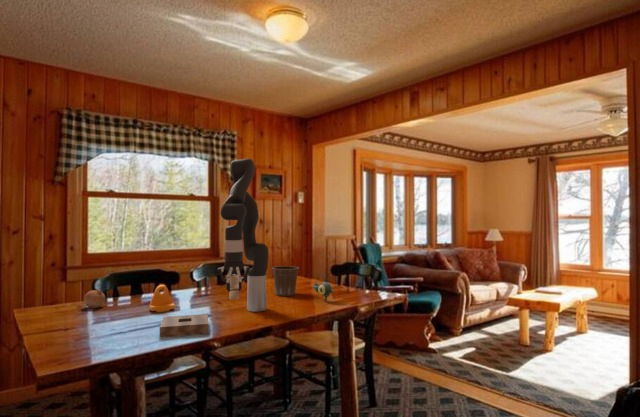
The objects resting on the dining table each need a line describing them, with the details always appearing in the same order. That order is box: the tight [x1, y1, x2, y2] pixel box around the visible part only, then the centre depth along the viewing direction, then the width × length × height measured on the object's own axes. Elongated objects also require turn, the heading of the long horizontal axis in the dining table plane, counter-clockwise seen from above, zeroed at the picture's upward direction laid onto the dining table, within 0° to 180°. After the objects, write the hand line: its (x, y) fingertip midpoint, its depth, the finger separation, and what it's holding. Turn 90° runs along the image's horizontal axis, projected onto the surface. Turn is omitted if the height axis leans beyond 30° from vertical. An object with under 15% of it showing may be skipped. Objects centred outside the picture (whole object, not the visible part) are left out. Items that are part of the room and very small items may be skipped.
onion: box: [83, 289, 106, 309], centre depth 199 cm, size 10×9×10 cm
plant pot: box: [271, 265, 300, 297], centre depth 236 cm, size 16×16×16 cm
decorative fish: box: [313, 274, 334, 302], centre depth 218 cm, size 13×12×6 cm
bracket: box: [148, 284, 175, 313], centre depth 195 cm, size 11×7×12 cm, turn 119°
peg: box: [228, 274, 240, 301], centre depth 167 cm, size 4×4×10 cm
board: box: [159, 313, 209, 338], centre depth 161 cm, size 18×16×4 cm
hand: (233, 290), depth 167 cm, fingers closed on peg, 3 cm apart
